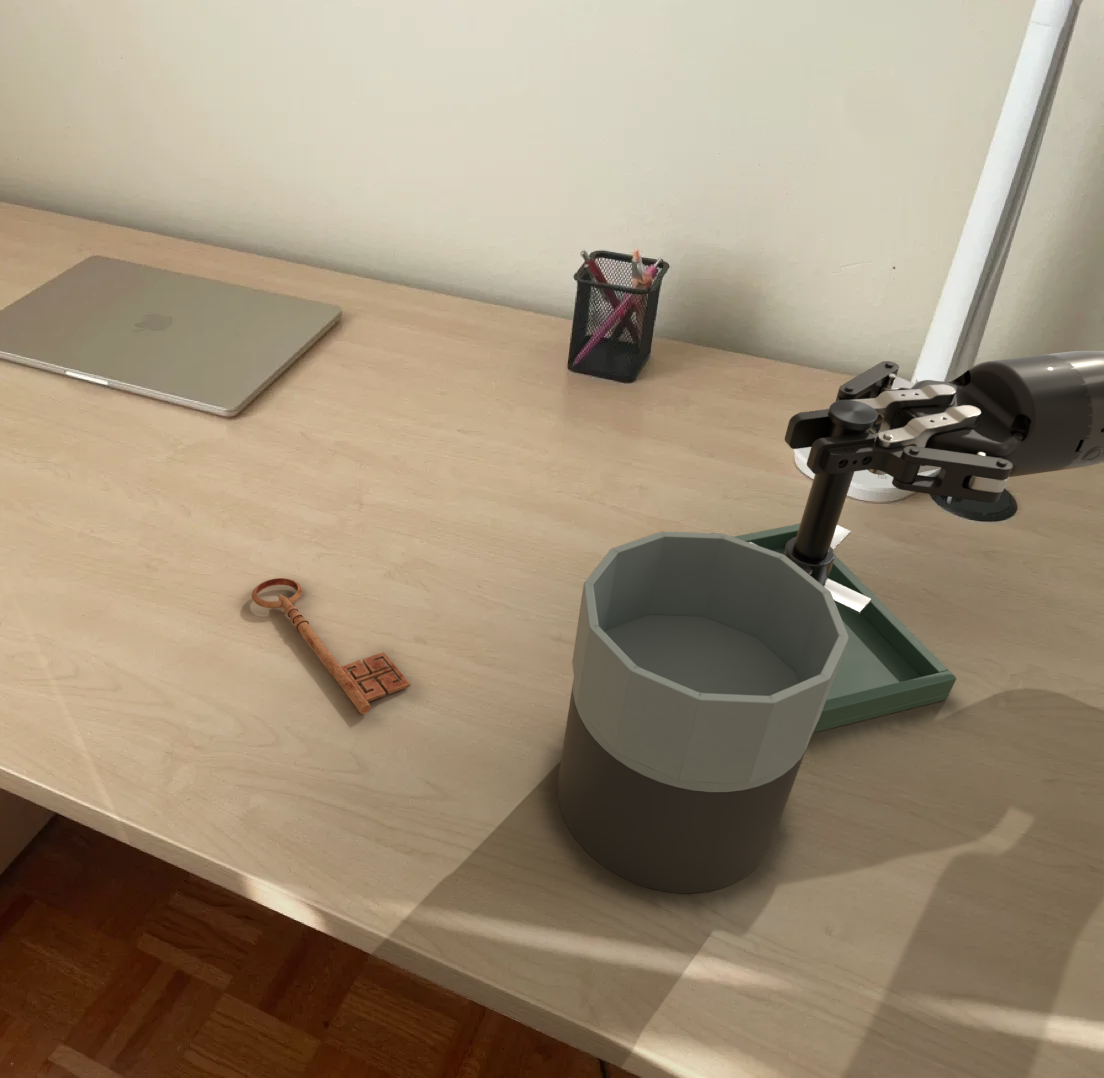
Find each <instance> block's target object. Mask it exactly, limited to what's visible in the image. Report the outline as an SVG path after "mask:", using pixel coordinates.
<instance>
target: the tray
mask: <svg viewBox="0 0 1104 1078" xmlns="http://www.w3.org/2000/svg"><path fill="white" fill-rule="evenodd" d="M799 527H800V523H795V524H790V525H786V526H780V527H776V528H775V527H774V528H771V529H765V530H760V531H756V532H751V533H746V534H741V535H736V536H733V537H734V538H737V539H740V540H743V541H746V542H751V543H753V544H756V545H758V546H760V547H763V548H766V549H769V550H772V551H774V552H777V553H780V554H783V553H784V550H785V546H786V544H787V542H788V541H789V540H790V539H792V538H794V537H797V533H798V530H799ZM828 579H830V580H832V581H834V582H836V583H838V584H841V585H843V586H845V587H847V588H849V589H851V590H853V591H855V592H858V593H860V594H862V595H864V596H866V597H868V598H870V599H871V601H870V603H869V604H868V605H867V606H866V607H865V608H864V609H863V611H862V612H861V613H860V614H856V613H854V612H852V611H850V610H848V609H846V608H844V607H842V606H840V605H838V604H836V603H835V604H836V607H837V609H838V612H839V614H840V617H841V619H842V622H843V624H844V627H845V629H846V632H847V634H848V637H849V640H848V642H847V645H846V648H845V651H844V653H843V656H842V659H841V661H840V664H839V667H838V670H837V672H836V675H835V678H834V680H833V683H832V686H831V688H830V691H829V694H828V697H827V699H826V702H825V705H824V707H823V710H822V713H821V715H820V718H819V720H818V722H817V725H816V727H815V729H814V731H813V733H812V734H815V733H819V732H822V731H827V730H830V729H834V728H838V727H842V726H846V725H847V726H848V725H850V724H855V723H858V722H862V721H867V720H870V719H875V718H878V717H882V716H886V715H890V714H895V713H899V712H903V711H906V710H911V709H915V708H919V707H922V706H927V705H931V704H934V703H939V702H943V701H946V700H947V699H948V698H949V696H950V693H951V691H952V689H953V687H954V685H955V682H956V681H957V676H955V675H954V674H953V672H952V671H951V670H949V668H948V667H947V666H946V665H945V664H944V663H942V661H940V659H939V658H937V656H936V655H935V654H934V653H933V652H932V651H931V650H929V648H928V647H927V646H926V645H925V644H924V643H923V642H922V641H921V640H920V639H919V638H918V637H917V636H916V635H915V634H914V633H913V632H912V631H911V630H910V629H909V628H908V626H907V625H905V624H904V623H903V622H902V621H901V620H900V619H899V618H898V617H897V615H895V614H894V613H893V612H892V610H890V609H889V608H888V607H887V606H886V605H885V604H884V603H883V602H882V601H881V600H880V598H878V596H877V595H875V593H874V592H873V591H871V590H870V588H868V587H867V585H866V584H864V582H863V581H862V580H860V578H859V577H857V576H856V575H855V573H853V572H852V570H851V569H850V568H848V566H847V565H846V564H845V563H844V562H842V561H841V559H840V558H839V557H838V556H837V555H836V554H835V559H834V562H833V565H832V568H831V571H830V574H829V577H828Z"/></svg>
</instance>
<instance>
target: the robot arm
mask: <svg viewBox="0 0 1104 1078" xmlns="http://www.w3.org/2000/svg"><path fill="white" fill-rule="evenodd" d="M899 369H900V366H899V364H898V363H896V362H893V361H889V360H884V361H881V362H879V363H878V364H876V365H874V366H872V367H870V368H869V369H867V370H865V371H863V372H862V373H860V374H859V375H857V376H855V377H854V378H851V379H850V380H848V381H846V382H845V383H843V384H841V385H840V386H839V388H838V390H837V393H836V398H835V401H834V402H836V401H840V400H854V401H859V402H862V403H865V404H867V405H869V406H871V407H872V408H874V409H875V411H876V412H877V414H878V418H877V421H876V424H875V425H874V426H873V427H872V428H870V429H868V432H866V433H860V434H851V435H843V436H835V437H827V438H826V436H827V432H828V429H829V426H830V422H831V420H830V419H829V417H828V411H829V408H825V409H817V410H816V409H815V410H810V411H801V412H798V413H796V414H793V416H791V417H790V419H789V420H788V424H787V428H786V432H785V436H784V443H785V444H787V446H789V448H791V449H792V450H798V449H799V450H800V449H806V448H807V449H808V448H810V450H809V454H808V458H807V460H806V466H807V468H808V469H809V470H810V471H811V472H812V473H813V474H814V475H815V474H824V473H827V474H840V473H843V472H844V473H847V472H854V473H855V472H861V471H868V472H869V473H871V474H874V475H878V476H884V475H889V476H890V477H892V480H891V484H892V486H893V487H894V488H896V489H899V490H901V491H907V492H915V493H919V494H920V493H922V494H927V495H934V496H935V495H936V496H941V497H949V498H956V499H960V500H961V499H962V500H969V501H976V502H983V503H989V504H995V503H997V502H999V501H1000V498H1001V495H1002V493H1003V491H1004V490H1005V489H1006V485H1007V483H1008V481H1009V479H1010V478H1015V477H1020V476H1022V477H1023V476H1028V475H1036V474H1043V473H1050V472H1051V473H1052V472H1059V471H1065V470H1071V469H1072V470H1073V469H1079V468H1085V467H1086V468H1087V467H1091V466H1097V465H1099V464H1103V463H1104V350H1073V351H1064V352H1063V351H1062V352H1055V353H1047V354H1039V355H1030V356H1022V357H1013V358H1012V357H1011V358H1005V359H997V360H995V359H994V360H989V361H988V360H987V361H983V362H980V363H978V364H976V365H973V366H972V367H970V368H969V369H967V370H966V371H965V372H963V373H962V374H960V375H959V376H957V377H956V378H955V379H953V380H951V381H944V380H943V381H941V380H940V381H939V380H934V379H924V380H920V381H918V382H916V383H914V382H911V381H909V380H907V379H905V378H902V377H900V376H898V372H899ZM938 469H940V470H939V472H938V474H937V475H935V476H928V475H923V474H921V473H927V472H930V471H934V470H938Z"/></svg>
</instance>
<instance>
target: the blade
mask: <svg viewBox="0 0 1104 1078" xmlns="http://www.w3.org/2000/svg"><path fill="white" fill-rule="evenodd" d="M835 401H836V400H835ZM835 401H834V402H832V403H831V404H830V406H829V408H828V409H829V411H828V417H829V419H830V420H831V422H830V426H829V429H828V432H827V436H826V438H827V437H835V436H843V435H851V434H860V433H866V432H868V429H870V428H872V427H873V426H874V425H875V424H876V421H877V418H878V414H877V412H876V411H875V409H874V408H872V407H871V406H869V405H867V404H865V403H862V402H859V401H854V400H840V401H836V402H835ZM854 474H855V472H847V473H844V472H843V473H840V474H827V473H824V474H814V476H813V479H812V484H811V486H810V490H809V493H808V496H807V499H806V503H805V505H804V506H805V507H804V510H803V513H802V516H801V521H800V523H799V524H800V527H799V530H798V533H797V537H794V538H792V539H790V540H789V541H788V542H787V544H786V546H785V550H784V553H783V555H785V556H786V557H788V558H789V559H790V560H791V561H793V562H794V563H795V564H796V565H798V566H799V567H800V568H801V569H803V570H804V571H805V572H806V573H808V574H809V575H810V576H811V577H813V578H814V579H815V580H816V581H818V582H819V583H820V584H821V585H823V586H824V587H825V588H826V589H827V590H829V591H830V592H831V594H832V597H833V599H834V602H835V603H836V604H838V605H840V606H842V607H844V608H846V609H848V610H850V611H852V612H854V613H856V614H860V613H861V612H862V611H863V609H864V608H865V607H866V606H867V605H868V604H869V603H870V601H871V599H870V598H868V597H866V596H864V595H862V594H860V593H858V592H855V591H853V590H851V589H849V588H847V587H845V586H843V585H841V584H838V583H836V582H834V581H832V580H830V579H828V577H829V574H830V571H831V568H832V565H833V562H834V559H835V555H836V552H835V550H836V549H837V548H838V546H840V544H841V543H843V541H845V539H847V538H848V536H849V535H850V534H851V530H849V529H847V528H845V527H842V526H841V525H838V523H839V520H840V517H841V514H842V511H843V508H844V505H845V502H846V499H847V496H848V493H849V490H850V487H851V483H852V481H853V477H854ZM749 543H751V542H749ZM752 544H753V543H752ZM754 545H756V544H754ZM757 546H758V545H757Z"/></svg>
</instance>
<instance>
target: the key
mask: <svg viewBox="0 0 1104 1078" xmlns="http://www.w3.org/2000/svg"><path fill="white" fill-rule="evenodd" d="M274 586H287V587H291V588H292V589H294V590H295V591H296V593H294V594H293V595H292V596H291V597H286V596H283V595H282V594H279V595H278V600H276V601H273V600H272V601H271V600H270V601H269V600H265V599H263V598H261V597H260V596H259V593H260V592H261V591H263V590H264V589H266V588H269V587H274ZM302 594H303V587H302V586H301V584H299V582H297V581H295V580H294V579H290V578H285V577H278V578H271V579H268V580H264V581H262V582H261V583H259V584H258V585H256V586H255V587H254V588H253V590H252V592H251V599H252V601H253V602H254V603H255V604H256V605H257V606H260V607H262V608H266V609H281V608H282V609H283V610H284V611H285V614H286V616H287V617H288V618H290V621H291V622H292V624H293V625H294V627H295V629H296V630H297V631H298V632H299V633H300V634H301V635H302V637H303V638H304V639H305V641H306V642H307V644H308V645H309V646H310V648H311V649H312V650H313V651H314V653H315V654H316V656H318V658H319V659H320V661H321V662H322V664H323V665H324V666H325V668H326V669H327V671H329V673H330V674H331V675H332V677H333V679H334V680H335V681H336V682H337V683H338V685H339V686H340V688H341V689H342V691H343V692H344V693H345V695H346V696H347V698H349V699H350V701H351V702H352V704H353V705H354V706H355V707H356V709H357V711H358V712H359V713H360V714H362V715H363V714H364V715H365V714H367V713H368V712H369V711H370V710H371V709H372V706H371V703H369V702H371V701H373V700H376V699H379V698H381V697H385V696H386V694H388V695H390V694H393V693H395V692H399V691H401V690H403V689H406V688H408V687H411V683H410V681H408V679H407V678H406V677H405V676H404V674H402V671H400V669H399V668H398V667H397V666H396V665H395V663H394V662H393V661H392V660H391V659H390V657H389V656H388V655H387V654H386V652H385V651H382V652H379V653H375V654H373V655H370V656H368V657H365V658H363V659H362V660H361V659H359V660H355V661H353V662H350V663H347V664H345V665H342V666H341V665H340V664H339V662H338V661H337V659H336V658H335V657H334V656H333V654H332V653H331V652H330V651H329V649H328V648H327V646H325V644H324V643H323V641H322V640H321V638H319V636H318V635H317V633H316V632H315V630H313V628H312V627H311V626H310V623H309V621H308V620H307V619H306V618H305V617H304V616H303V614H302V613H301V612H299V610H298V608H297V607H296V606H294V605H293V604H295V603H296V602H297V601H298V600H299V599H300V598H301V596H302ZM370 673H371V674H370ZM359 684H360V685H359Z"/></svg>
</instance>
